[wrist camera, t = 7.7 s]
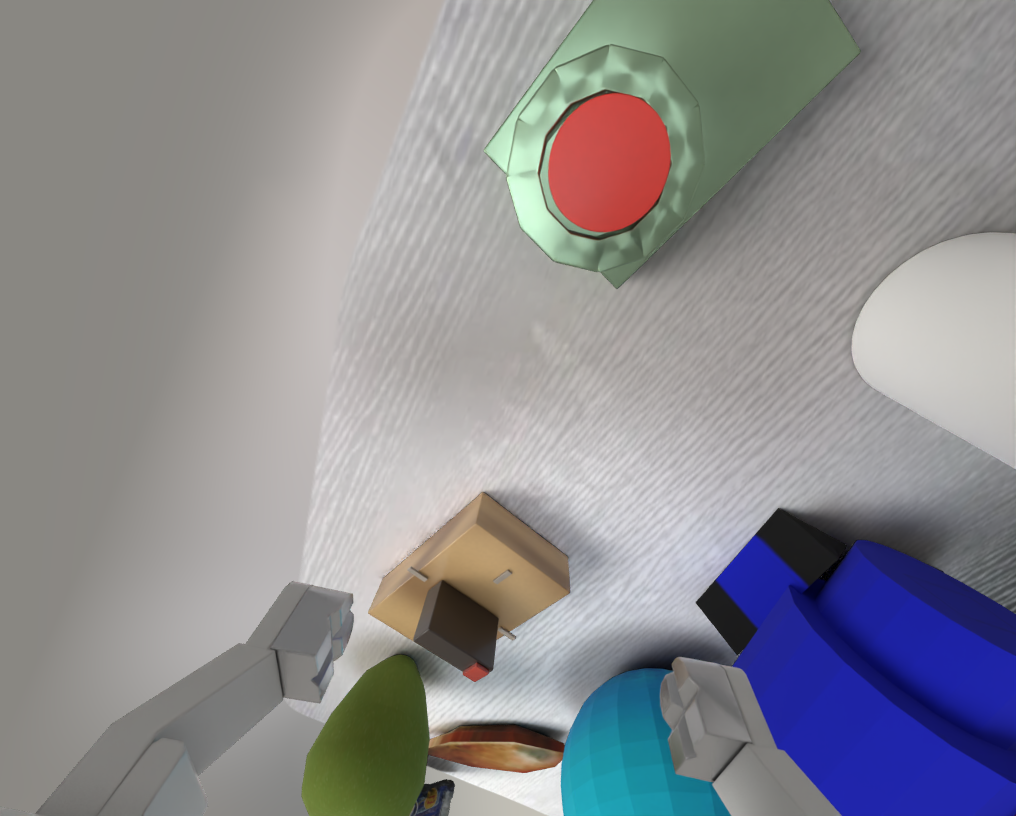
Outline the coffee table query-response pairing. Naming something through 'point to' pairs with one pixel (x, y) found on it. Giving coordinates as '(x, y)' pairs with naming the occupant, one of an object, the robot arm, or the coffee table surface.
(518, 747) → the wooden boat shaped bowl
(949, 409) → the bottle
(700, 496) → the coffee table surface
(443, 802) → the snack package
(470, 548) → the panel
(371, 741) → the apple
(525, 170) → the green lamp base
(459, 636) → the knob
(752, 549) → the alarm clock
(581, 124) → the lamp button
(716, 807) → the decorative orb
